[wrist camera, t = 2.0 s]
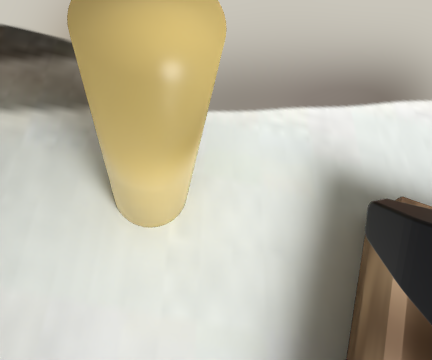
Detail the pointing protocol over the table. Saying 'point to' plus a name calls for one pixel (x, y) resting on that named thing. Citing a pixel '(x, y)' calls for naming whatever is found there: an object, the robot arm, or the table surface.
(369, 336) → the walled box
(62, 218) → the table surface
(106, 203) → the table surface
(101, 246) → the table surface
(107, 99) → the plug
